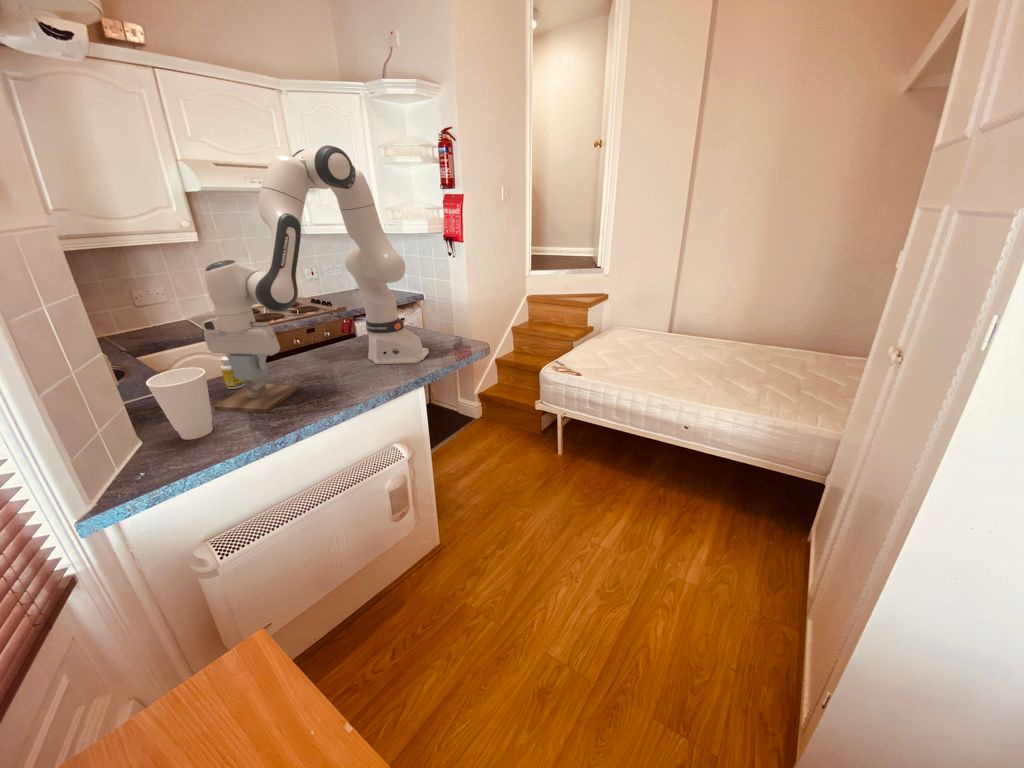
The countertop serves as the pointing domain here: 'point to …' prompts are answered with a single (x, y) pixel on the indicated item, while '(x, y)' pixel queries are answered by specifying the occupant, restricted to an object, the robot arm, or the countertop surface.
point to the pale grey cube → (246, 367)
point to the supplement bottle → (230, 375)
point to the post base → (257, 403)
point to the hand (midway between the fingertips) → (249, 367)
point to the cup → (184, 400)
